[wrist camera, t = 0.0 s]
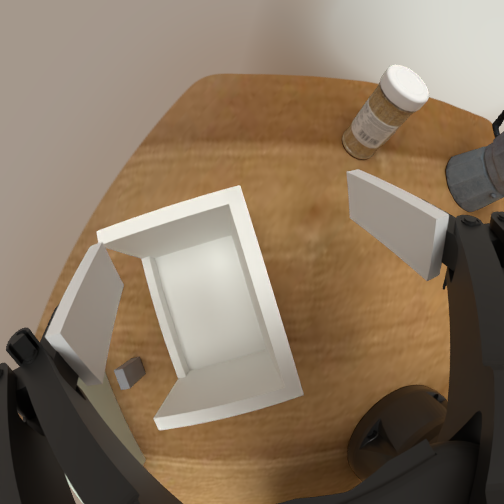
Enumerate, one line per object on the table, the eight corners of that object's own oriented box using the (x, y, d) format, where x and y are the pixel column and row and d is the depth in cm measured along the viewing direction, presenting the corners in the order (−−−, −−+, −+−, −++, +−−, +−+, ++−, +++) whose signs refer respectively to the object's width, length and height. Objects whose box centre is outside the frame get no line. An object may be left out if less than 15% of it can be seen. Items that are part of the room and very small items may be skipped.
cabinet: (277, 353, 28) (303, 394, 16) (142, 387, 27) (97, 435, 15) (238, 224, 29) (240, 185, 17) (105, 266, 28) (40, 254, 16)
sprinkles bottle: (379, 148, 32) (436, 91, 18) (360, 167, 31) (419, 109, 18) (354, 123, 32) (400, 57, 18) (333, 140, 31) (379, 71, 18)
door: (145, 459, 26) (115, 517, 14) (118, 460, 25) (83, 513, 13) (100, 359, 27) (40, 391, 15) (74, 364, 26) (12, 392, 15)
